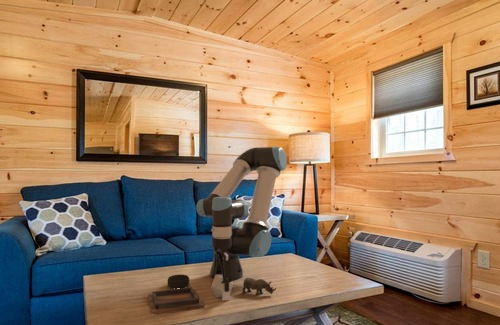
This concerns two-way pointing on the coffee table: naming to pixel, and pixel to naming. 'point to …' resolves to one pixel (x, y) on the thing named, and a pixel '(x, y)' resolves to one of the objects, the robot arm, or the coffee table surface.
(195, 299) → the board
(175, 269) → the coffee table surface
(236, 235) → the robot arm
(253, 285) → the rhino figurine
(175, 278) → the smart speaker
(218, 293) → the die
